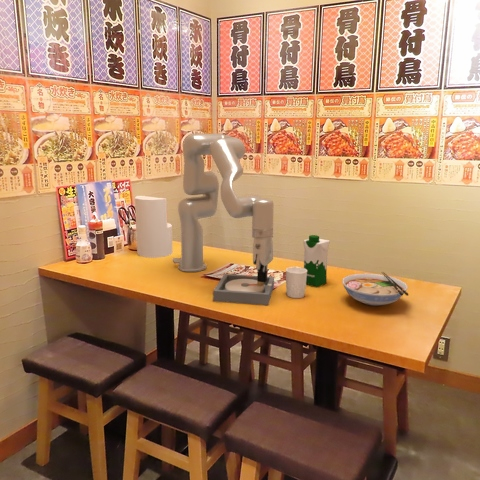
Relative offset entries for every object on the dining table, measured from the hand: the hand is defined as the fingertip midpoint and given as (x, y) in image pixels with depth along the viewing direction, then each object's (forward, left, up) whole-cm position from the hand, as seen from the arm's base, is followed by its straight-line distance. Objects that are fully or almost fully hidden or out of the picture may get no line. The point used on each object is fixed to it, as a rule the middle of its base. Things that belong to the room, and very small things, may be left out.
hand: (262, 281), depth 169 cm
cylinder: (-60, +50, -6) cm, 78 cm away
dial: (-7, +2, -5) cm, 8 cm away
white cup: (+12, +4, -6) cm, 14 cm away
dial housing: (-7, +2, -6) cm, 9 cm away
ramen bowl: (+40, +2, -6) cm, 41 cm away
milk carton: (+19, +19, -6) cm, 28 cm away
